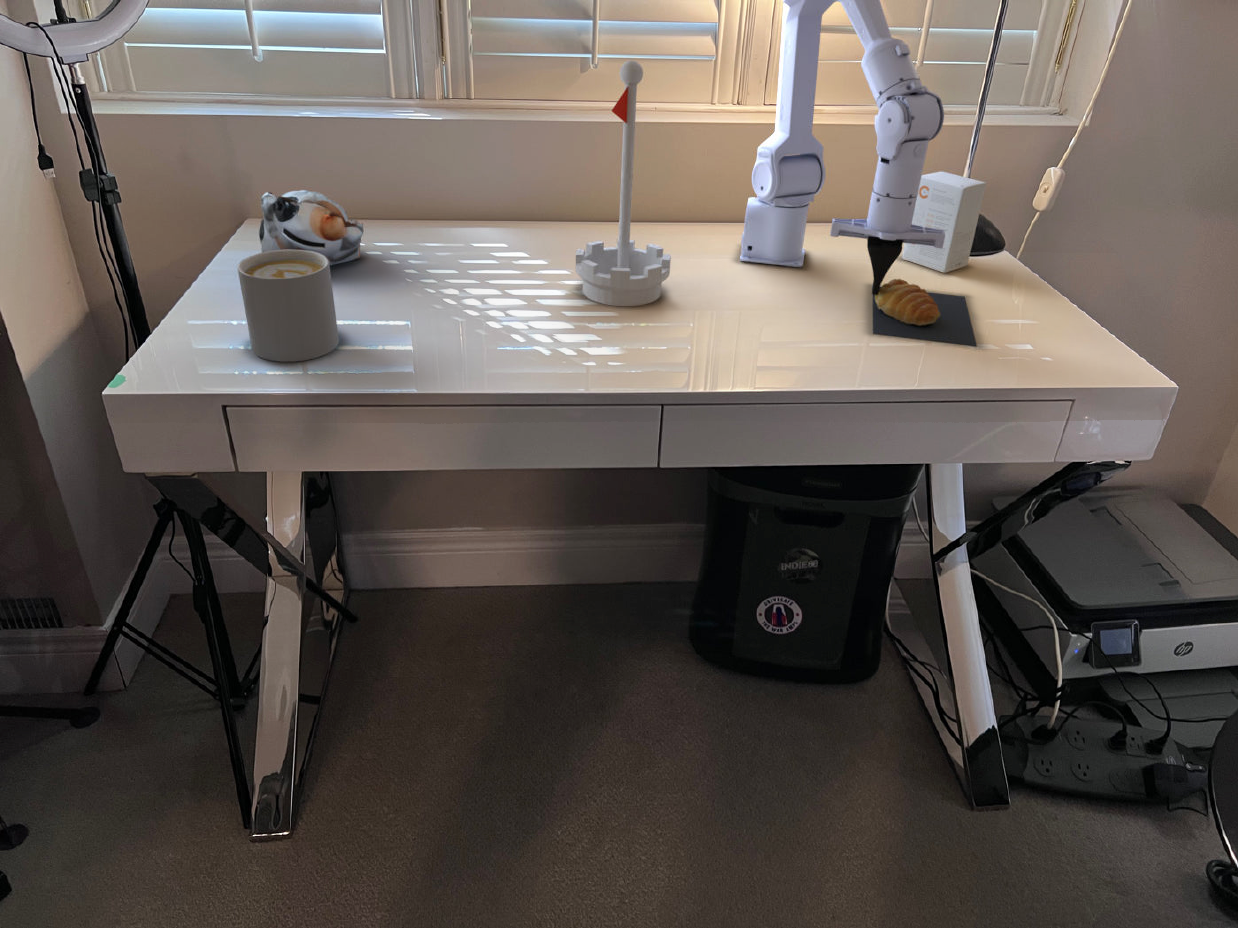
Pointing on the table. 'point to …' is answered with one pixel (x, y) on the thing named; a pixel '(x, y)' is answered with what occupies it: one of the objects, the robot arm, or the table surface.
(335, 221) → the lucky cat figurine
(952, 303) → the placemat
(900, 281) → the pastry
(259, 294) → the coffee mug
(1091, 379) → the table surface
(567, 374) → the table surface
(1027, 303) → the table surface
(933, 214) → the small box
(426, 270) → the table surface
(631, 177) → the flag stand
